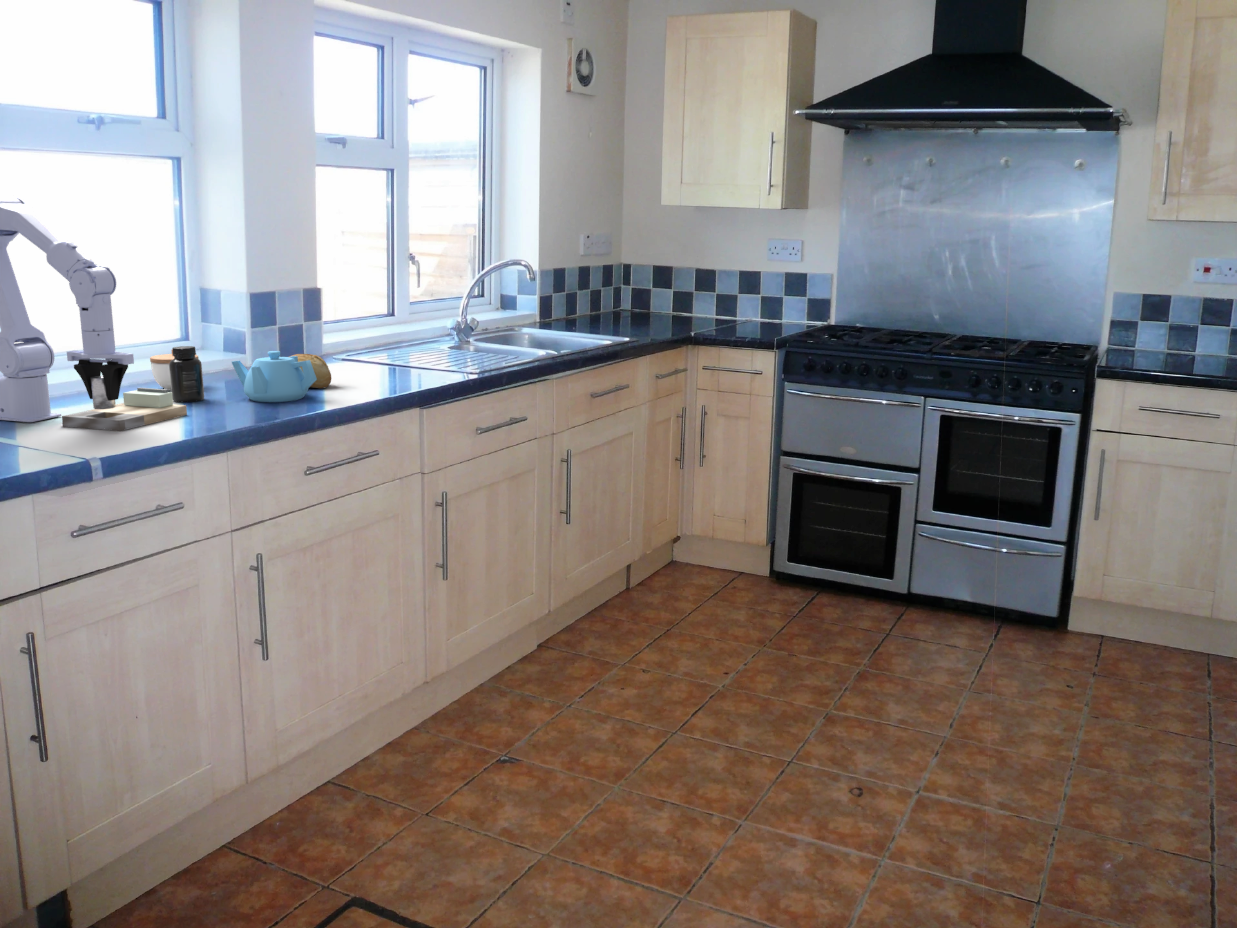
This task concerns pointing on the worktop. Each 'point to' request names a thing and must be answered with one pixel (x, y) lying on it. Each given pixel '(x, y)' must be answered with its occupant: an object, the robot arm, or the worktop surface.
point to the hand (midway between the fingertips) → (104, 399)
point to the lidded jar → (162, 369)
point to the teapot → (276, 378)
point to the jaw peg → (100, 394)
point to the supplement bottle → (186, 375)
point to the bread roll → (317, 370)
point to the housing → (122, 417)
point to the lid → (148, 398)
